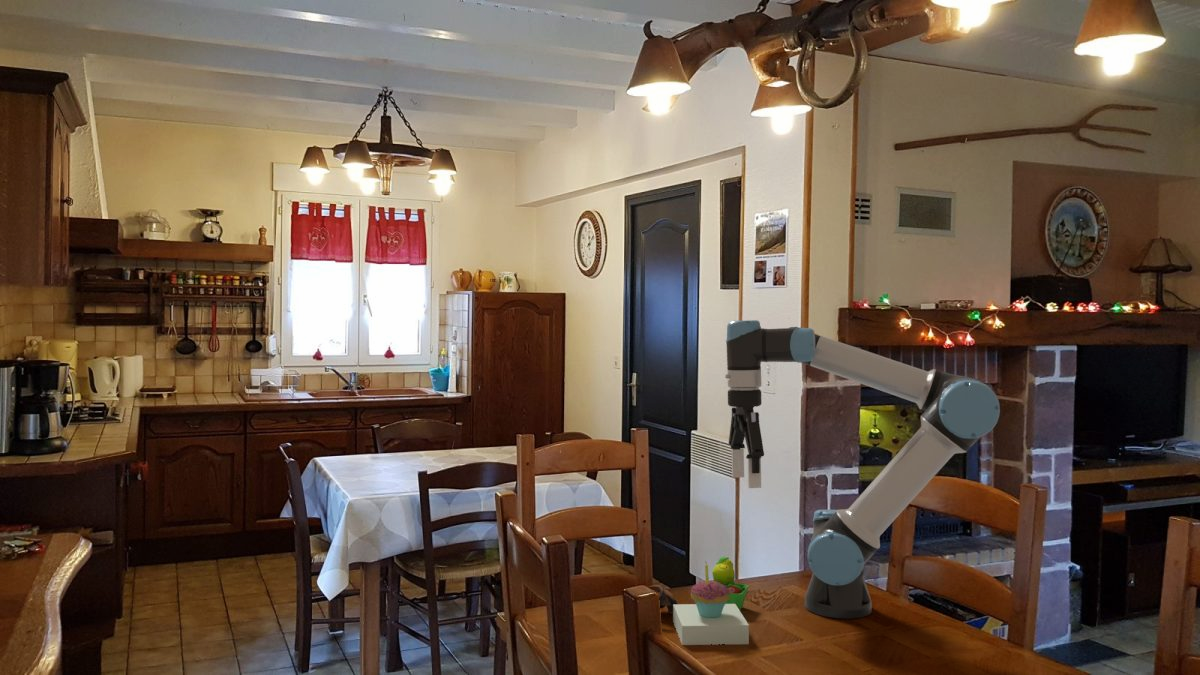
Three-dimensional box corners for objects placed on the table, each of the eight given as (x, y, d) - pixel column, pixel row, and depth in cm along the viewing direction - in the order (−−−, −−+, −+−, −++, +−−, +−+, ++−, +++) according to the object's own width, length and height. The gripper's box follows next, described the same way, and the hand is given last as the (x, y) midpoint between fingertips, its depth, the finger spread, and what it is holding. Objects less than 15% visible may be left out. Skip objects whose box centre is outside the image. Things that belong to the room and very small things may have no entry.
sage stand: (735, 621, 203) (735, 603, 203) (748, 644, 189) (748, 625, 189) (672, 622, 202) (673, 604, 202) (682, 645, 188) (682, 626, 188)
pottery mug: (684, 626, 201) (668, 597, 199) (646, 643, 203) (630, 614, 201) (681, 596, 213) (666, 568, 211) (645, 612, 214) (629, 584, 212)
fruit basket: (693, 609, 211) (693, 561, 211) (703, 599, 219) (704, 552, 219) (741, 616, 207) (741, 567, 207) (750, 605, 215) (750, 557, 215)
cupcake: (719, 623, 190) (719, 566, 190) (682, 616, 195) (683, 560, 194) (735, 612, 197) (736, 557, 197) (700, 605, 202) (701, 551, 201)
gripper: (714, 385, 217) (716, 473, 217) (743, 393, 192) (745, 493, 192) (745, 384, 217) (747, 472, 218) (777, 392, 193) (779, 491, 193)
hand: (746, 482), depth 205 cm, fingers open, 13 cm apart
